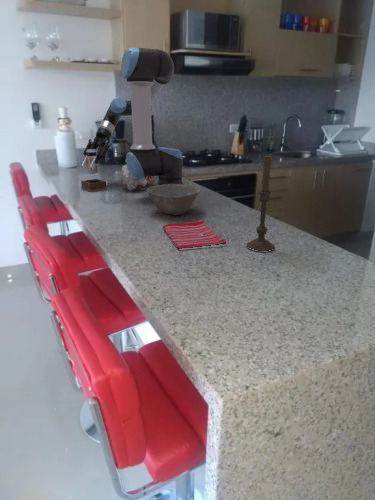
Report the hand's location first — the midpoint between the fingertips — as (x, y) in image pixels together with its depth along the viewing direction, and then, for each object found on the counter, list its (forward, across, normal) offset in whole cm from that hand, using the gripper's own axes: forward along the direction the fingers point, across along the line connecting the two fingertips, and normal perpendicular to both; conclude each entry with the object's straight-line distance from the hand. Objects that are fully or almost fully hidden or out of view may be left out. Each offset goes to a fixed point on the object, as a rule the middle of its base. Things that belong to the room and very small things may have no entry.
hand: (87, 167), depth 198 cm
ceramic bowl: (+20, -59, +4) cm, 63 cm away
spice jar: (0, 0, -5) cm, 5 cm away
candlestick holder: (+37, -103, +21) cm, 112 cm away
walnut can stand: (+6, 0, -11) cm, 12 cm away
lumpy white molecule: (-4, -19, -22) cm, 29 cm away
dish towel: (+38, -79, +21) cm, 90 cm away
